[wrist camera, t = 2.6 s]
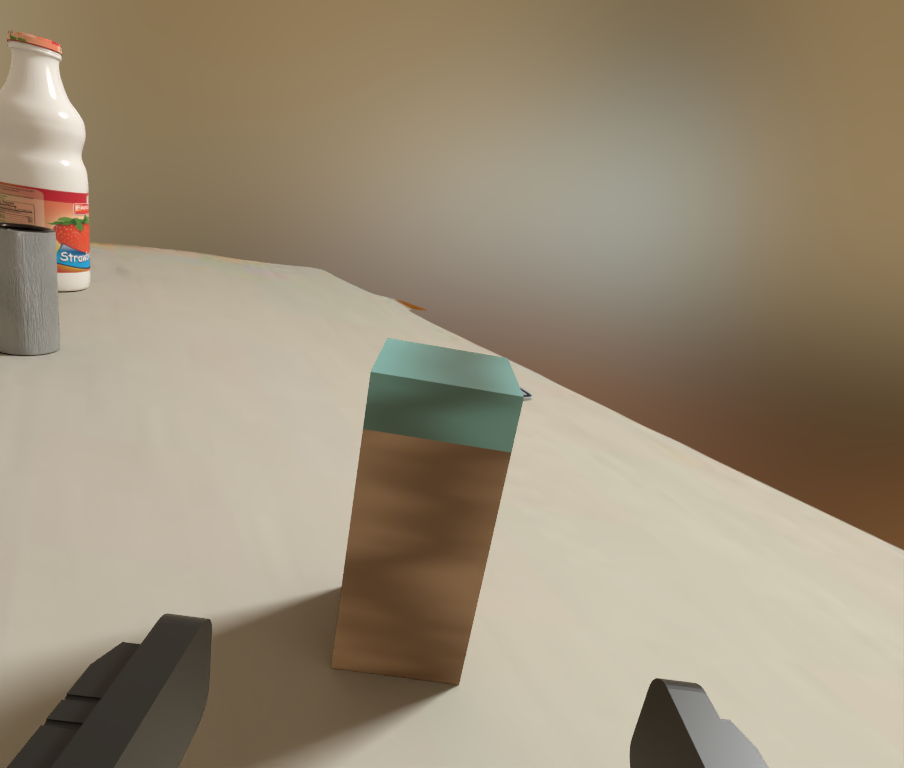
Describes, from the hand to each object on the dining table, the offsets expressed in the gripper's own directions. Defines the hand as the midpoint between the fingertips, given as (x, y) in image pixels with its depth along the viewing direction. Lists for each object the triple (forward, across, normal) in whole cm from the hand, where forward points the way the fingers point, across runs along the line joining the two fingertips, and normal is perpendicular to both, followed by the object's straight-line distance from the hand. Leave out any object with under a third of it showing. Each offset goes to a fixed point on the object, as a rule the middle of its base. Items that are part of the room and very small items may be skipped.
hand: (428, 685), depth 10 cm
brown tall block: (+12, 0, +9) cm, 15 cm away
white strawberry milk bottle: (+63, +50, +8) cm, 81 cm away
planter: (+38, +35, +8) cm, 53 cm away
